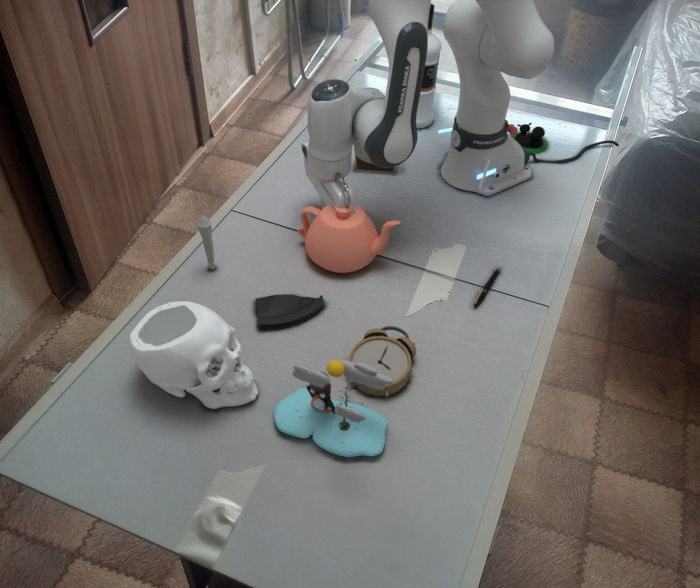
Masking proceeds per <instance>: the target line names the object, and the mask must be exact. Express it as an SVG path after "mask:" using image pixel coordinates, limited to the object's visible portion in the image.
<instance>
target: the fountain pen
mask: <svg viewBox="0 0 700 588" xmlns="http://www.w3.org/2000/svg"><path fill="white" fill-rule="evenodd" d="M500 270H501V265H499V266H498V267H497V268H496V269H495V271H494V272H493V273H492V275H491V276H490V277H489V279H488V280H487V282H486V283H485V285H484V286H483V288H482V289H480V291H479V293H478V295H477V296H476V298H475V300H474V303H473V307H474V308H476V307H478V305H480V303H481V302H482V301H483V300H484V298H485V297H486V295H487V293H488V292H489V290H490V288H491V287H492V285H493V283H494V281H495V280H496V279H497V276H498V275H499V273H500Z"/></svg>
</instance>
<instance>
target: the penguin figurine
mask: <svg viewBox="0 0 700 588" xmlns="http://www.w3.org/2000/svg"><path fill="white" fill-rule="evenodd" d="M292 368H293V370H292V377H294V378H295V379H297V380H299V381H302V382H304V383H305V382H306V383H308V385H306V387H298V388H297V389H296V390H294V392H292V393H291V394H289V395H287V396H285V397H284V398H282V399H281V400H280V401H279V402H278V404H277V405H276V406H275V408H274V410H273V422H274V424H275V426H276V428H277V429H278V430H279V432H281V433H283V434H285V435H288V436H291V437H295V438H300V439H307V438H309V437H310V436H312V440H313V443H314V444H316V445H317V446H318V447H319V448H321V449H323V450H325V451H327V452H328V453H330V454H332V455H336V456H340V457H344V458H352V457H359V456H365V457H375V456H377V455H380V454H381V453H382V452H383V450H384V448H385V444H386V431H387V428H388V424H389V423H388V421H387V419H386V418H385V417H383V415H381V414H380V413H379V412H377V411H375V410H373V409H371V408H369V407H367V406H365V405H364V404H365V403H363V402H359V403H358V404H357V403H351V402H352V401H354V400H353V399H352V396H350V395H351V394H348V395H347V392H348V391H349V388H348V387H349V382H347V381H352V382H355V383H360V384H365V385H367V386H368V387H371V388H374V389H378V390H383V389H384V387H385V385H390V384H392V382H393V381H392V379H391V378H389V377H387V376H385V375H383V374H381V373H377V370H376V369H374V368H373V367H371V366H369V365H367V364H364V363H354V362H351V361H349V360H346V359H340V358H338V359H332V360H330V361H329V362H328V363H327V365H326V372H327V373H326V372H324V371H319V370H317V369H313V368H311V367H307V366H305V365H301V364H294V365H293V366H292ZM343 375H344V376H345V378H346V385H347V386H344V385H343V386H342V387H343V388H344V390H345V391H343V390H339V392H340V393H341V394H343V395H344V397H345V401H342V400H344V397H343V396H342V395H339V396H338V398H339V399H341V400H338V399H337V398H336V399H333V398H332V396H331V393H332V384H331V378H330V376H331V377H333V378H340V377H342V376H343Z"/></svg>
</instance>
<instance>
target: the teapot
mask: <svg viewBox="0 0 700 588" xmlns="http://www.w3.org/2000/svg"><path fill="white" fill-rule="evenodd" d="M335 209H336V212H337V213H336V212H335V210H334V208H333V207H332V205H331V204H329V205H327V206H325V207H324V208H323V207H322V208H321V209H319V208H318V207H315V206H311V205H310V206H306V207H304V208H303V209H302V210H301V213H300V220H301V224H302V225H301V226H300V227H299V228H298V232H297V233H298V235H299V236H300V237H301V238H302V239H305V240H304V247H305V251H306V254H307V255H308V258H310V260H311V261H312V262H313V263H314V264H316V265H318V267H320V268H323V270H326V271H329V272H333V273H338V274H346V273H347V274H348V273H354V272H356V271H359V270H361V269H363V268H365V267H367V266H368V265H369V264H370V263H372V262H373V261H374V259H375V258H376V256H378V255H380V254H382V253H383V252H384V251H385V249H386V248H387V246H388V244H389V240H390V233H391V230H392V228H394V227H395V226H397V225H399V224H400V223H401V220H395V219H394V220H389V221H386V222H385V223H384V224H383V226H382V228H381V232H380V235H379V234H378V230H377V228H376V225H375V224H374V222H373V220H372V219H371V217H370V216H369V214H368V213H367V212H366V211H365V210H364V209H363V208H362V207H361V206H360V205H358V204H356V203H355V214H352V215H349V216H348V214H349V212H350V210H351V207H345V208H341V209H340V208H338V207H337V206H336V207H335ZM308 214H310V215H313V216H315V217H314V218H313V219H312V220H311V223H310V222H309V219H308ZM337 214H338V215H337Z"/></svg>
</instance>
